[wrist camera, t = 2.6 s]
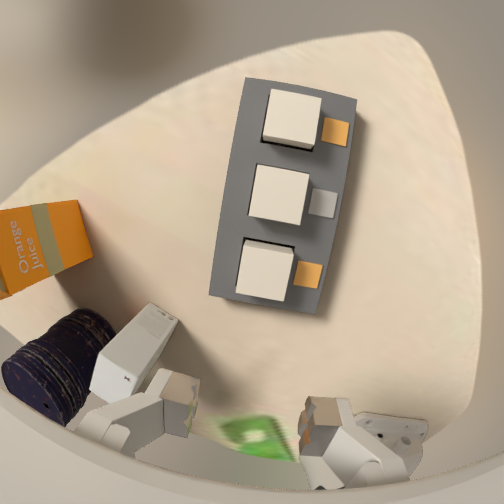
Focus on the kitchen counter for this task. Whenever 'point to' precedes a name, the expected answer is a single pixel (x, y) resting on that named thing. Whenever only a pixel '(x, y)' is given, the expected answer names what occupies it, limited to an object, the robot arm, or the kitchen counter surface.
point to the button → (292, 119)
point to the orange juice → (40, 243)
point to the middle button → (278, 194)
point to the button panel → (315, 205)
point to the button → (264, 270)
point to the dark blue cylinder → (58, 365)
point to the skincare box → (131, 354)
